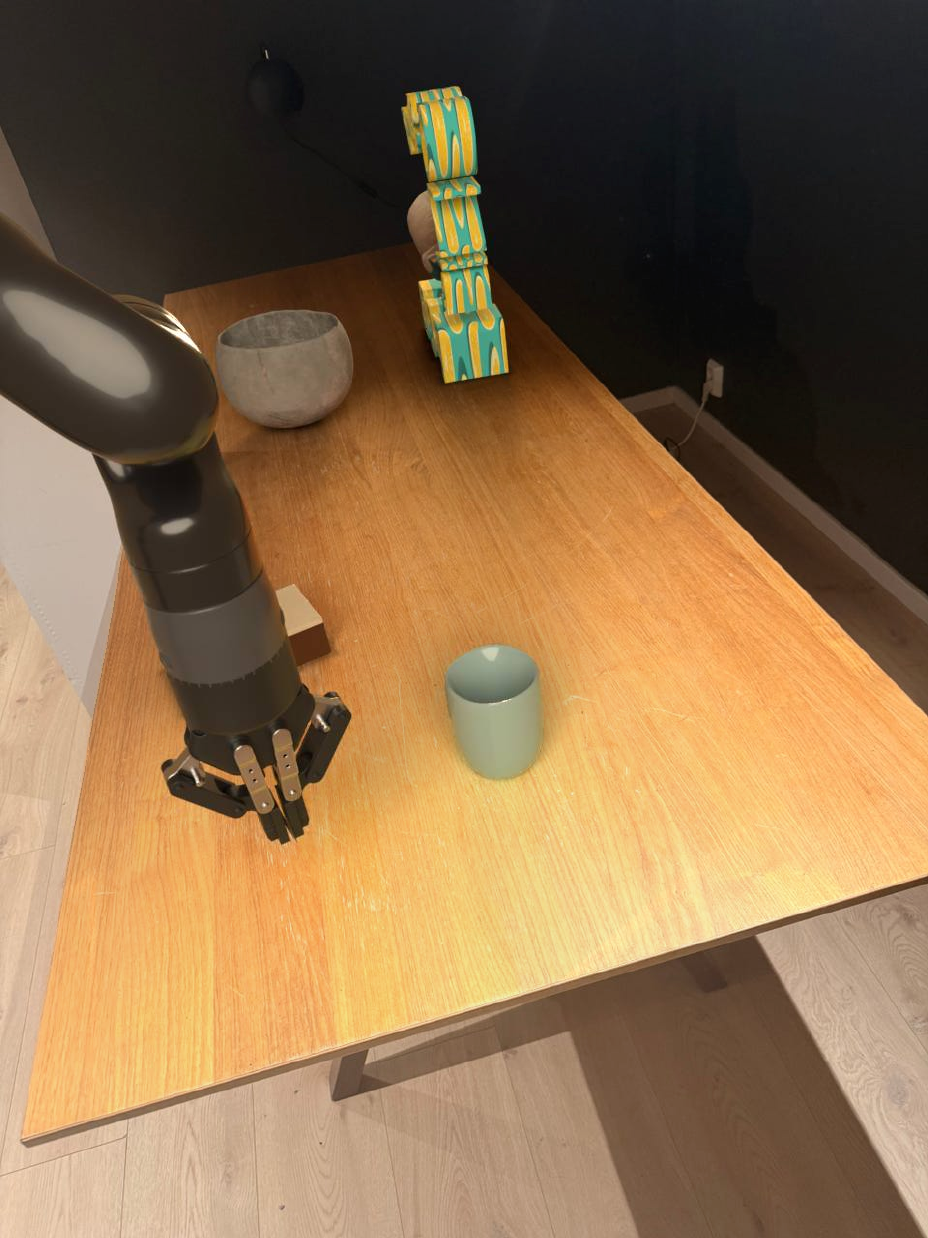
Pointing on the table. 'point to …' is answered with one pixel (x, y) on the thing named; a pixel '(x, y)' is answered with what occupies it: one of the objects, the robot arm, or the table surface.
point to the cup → (496, 710)
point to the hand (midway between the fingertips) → (288, 832)
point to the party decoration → (453, 238)
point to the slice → (302, 625)
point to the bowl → (285, 366)
